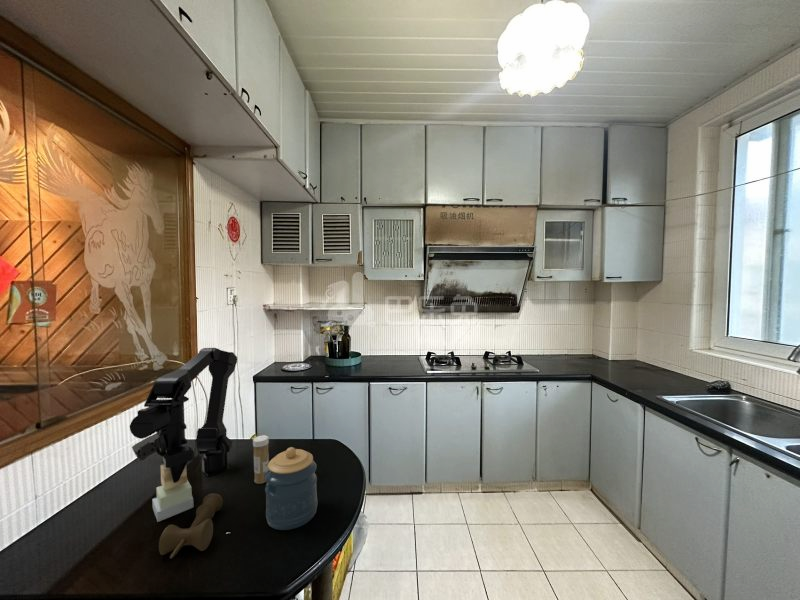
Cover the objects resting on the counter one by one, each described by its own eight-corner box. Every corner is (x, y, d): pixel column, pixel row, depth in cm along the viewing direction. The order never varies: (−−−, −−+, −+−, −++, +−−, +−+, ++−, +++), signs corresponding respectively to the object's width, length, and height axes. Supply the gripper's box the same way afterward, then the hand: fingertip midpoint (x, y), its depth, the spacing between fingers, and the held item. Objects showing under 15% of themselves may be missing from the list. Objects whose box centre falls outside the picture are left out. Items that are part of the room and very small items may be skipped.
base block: (186, 496, 95) (186, 486, 95) (193, 509, 89) (193, 498, 89) (152, 509, 89) (152, 499, 89) (157, 523, 83) (157, 512, 83)
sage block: (186, 487, 94) (186, 477, 94) (191, 497, 89) (191, 487, 89) (156, 498, 89) (156, 487, 89) (160, 509, 84) (160, 498, 84)
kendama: (232, 510, 88) (195, 569, 68) (195, 514, 87) (146, 576, 67) (231, 488, 88) (194, 540, 69) (194, 492, 87) (145, 547, 67)
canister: (303, 492, 94) (301, 433, 94) (327, 513, 85) (325, 447, 85) (257, 514, 85) (256, 448, 85) (279, 540, 76) (277, 466, 76)
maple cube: (182, 475, 93) (181, 458, 93) (186, 482, 89) (186, 464, 89) (161, 483, 89) (160, 465, 89) (164, 490, 86) (164, 471, 86)
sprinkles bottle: (271, 481, 101) (270, 438, 101) (255, 486, 98) (254, 442, 98) (268, 474, 105) (266, 433, 104) (252, 479, 102) (251, 437, 102)
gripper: (129, 422, 90) (131, 477, 90) (139, 442, 77) (141, 507, 77) (177, 411, 98) (179, 462, 98) (193, 428, 85) (195, 486, 85)
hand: (173, 478), depth 89 cm, fingers closed on maple cube, 5 cm apart
